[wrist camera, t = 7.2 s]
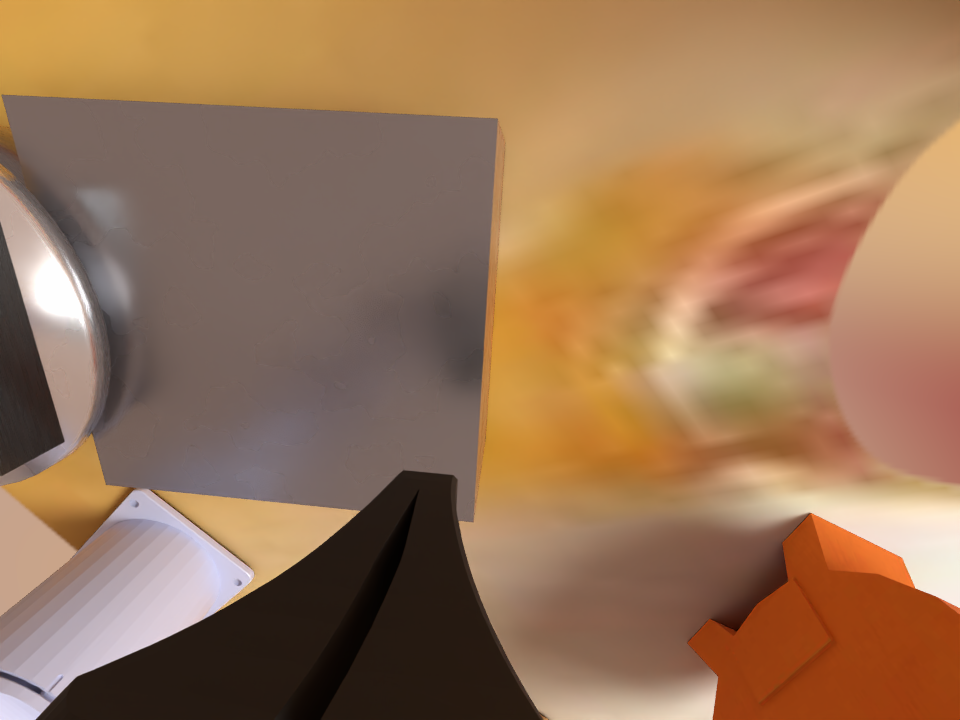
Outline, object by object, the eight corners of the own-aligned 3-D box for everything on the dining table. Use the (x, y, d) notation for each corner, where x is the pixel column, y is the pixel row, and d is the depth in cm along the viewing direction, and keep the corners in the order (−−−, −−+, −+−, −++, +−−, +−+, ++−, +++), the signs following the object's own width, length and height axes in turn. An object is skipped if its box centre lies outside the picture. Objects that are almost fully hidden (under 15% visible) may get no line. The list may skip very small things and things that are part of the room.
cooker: (-33, 391, 24) (-298, 486, 16) (-135, 110, 19) (-569, 53, 12) (485, 439, 22) (466, 569, 14) (505, 142, 18) (492, 102, 10)
